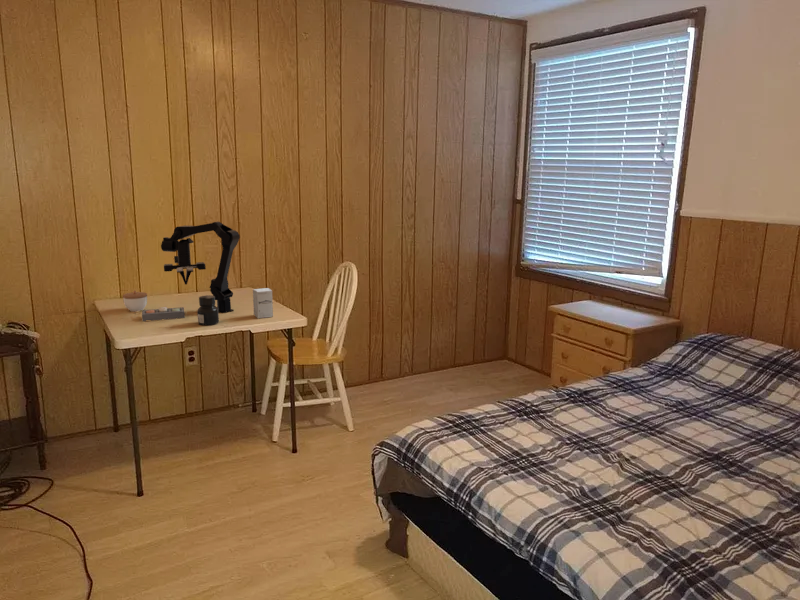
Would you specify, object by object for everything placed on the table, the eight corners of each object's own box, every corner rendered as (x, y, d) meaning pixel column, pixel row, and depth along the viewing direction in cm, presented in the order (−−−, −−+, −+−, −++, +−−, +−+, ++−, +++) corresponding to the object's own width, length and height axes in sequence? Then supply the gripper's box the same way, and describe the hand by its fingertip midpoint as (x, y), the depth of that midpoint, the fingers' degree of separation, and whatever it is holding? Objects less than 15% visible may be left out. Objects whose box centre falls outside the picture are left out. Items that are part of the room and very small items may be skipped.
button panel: (184, 313, 288) (183, 307, 288) (184, 317, 280) (184, 311, 279) (143, 316, 282) (142, 310, 281) (142, 321, 274) (141, 314, 273)
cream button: (167, 310, 283) (167, 306, 282) (167, 312, 279) (167, 308, 279) (159, 311, 281) (158, 307, 281) (159, 313, 278) (158, 309, 278)
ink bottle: (199, 321, 274) (197, 295, 272) (219, 320, 276) (218, 294, 274) (197, 326, 265) (195, 299, 263) (218, 325, 267) (216, 298, 265)
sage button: (180, 312, 285) (180, 308, 284) (180, 313, 282) (180, 309, 281) (172, 312, 284) (171, 308, 283) (172, 314, 280) (171, 310, 280)
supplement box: (257, 318, 279) (256, 291, 276) (253, 315, 286) (252, 288, 283) (273, 317, 282) (272, 290, 280) (269, 313, 289) (268, 287, 286)
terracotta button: (155, 314, 281) (154, 309, 281) (154, 315, 278) (154, 311, 277) (146, 314, 280) (146, 310, 279) (146, 316, 276) (146, 312, 276)
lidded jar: (133, 306, 301) (131, 288, 299) (152, 308, 298) (151, 289, 296) (119, 312, 290) (117, 292, 288) (139, 313, 288) (137, 293, 286)
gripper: (202, 249, 302) (204, 280, 306) (162, 250, 295) (164, 282, 299) (204, 252, 292) (206, 284, 296) (163, 254, 285) (165, 286, 289)
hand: (186, 284), depth 295 cm, fingers closed
